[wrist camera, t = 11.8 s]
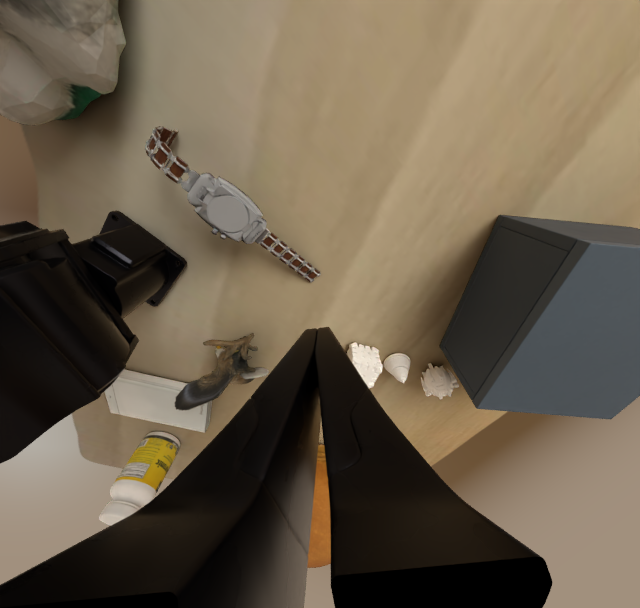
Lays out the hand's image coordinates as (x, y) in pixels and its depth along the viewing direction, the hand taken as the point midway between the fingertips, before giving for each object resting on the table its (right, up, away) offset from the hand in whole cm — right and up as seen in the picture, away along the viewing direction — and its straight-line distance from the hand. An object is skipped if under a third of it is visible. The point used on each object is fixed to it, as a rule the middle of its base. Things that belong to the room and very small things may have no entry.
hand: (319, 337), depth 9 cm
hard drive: (-21, -11, +23) cm, 33 cm away
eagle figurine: (-10, -4, +18) cm, 21 cm away
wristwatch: (-5, +8, +10) cm, 14 cm away
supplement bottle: (-24, -20, +28) cm, 42 cm away
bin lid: (+19, -2, +7) cm, 20 cm away
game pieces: (+9, -5, +18) cm, 21 cm away
